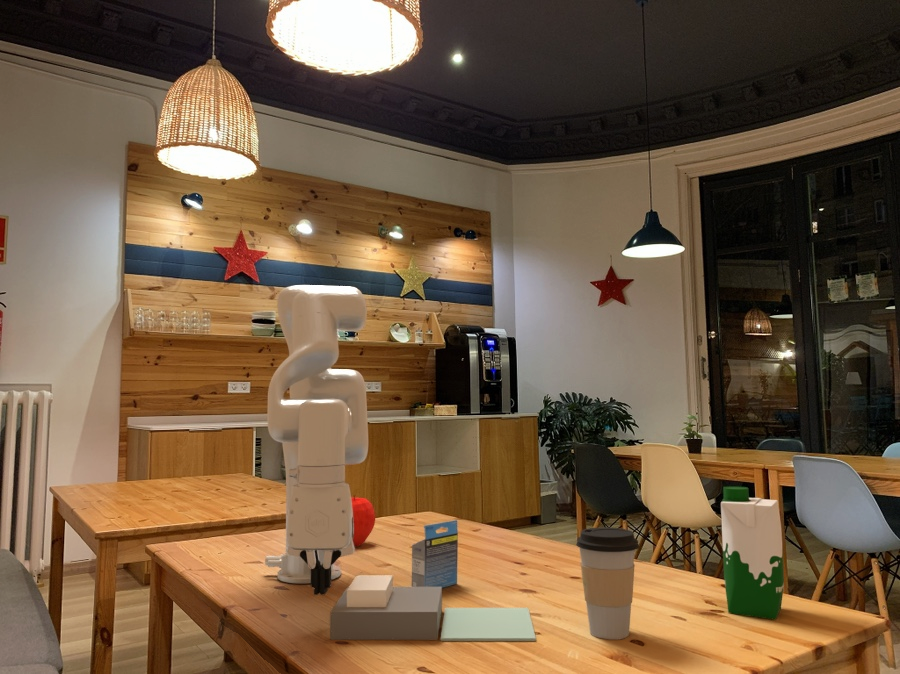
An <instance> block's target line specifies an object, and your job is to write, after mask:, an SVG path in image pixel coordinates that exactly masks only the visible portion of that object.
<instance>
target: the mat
mask: <svg viewBox="0 0 900 674" xmlns="http://www.w3.org/2000/svg"><path fill="white" fill-rule="evenodd" d="M443 613H444V614H443V620H442V625H441V632H440V641H441V642H536V641H537V638H536V634H535V633H536V632H535V629H534V625H533V621H532V618H531V613H530V610H529V607H444V612H443Z"/></svg>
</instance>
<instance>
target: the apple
mask: <svg viewBox="0 0 900 674" xmlns="http://www.w3.org/2000/svg"><path fill="white" fill-rule="evenodd" d="M351 500H352V509H353V522H354V537H353V543H354V548H355V546H357V547H360V546H361V545H363V544H364V543H365V542H366V540H367V539H368V537H369V536H370V534H371V533H372V531H373V530H374V527H375V523H376V514H375V513H376V512H375V509H374V506H373V504H372V503H371V501H370V500H368V499H367V498H365V497H356V496H355V494H354V495H353V496H351Z"/></svg>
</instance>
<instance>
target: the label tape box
mask: <svg viewBox="0 0 900 674" xmlns="http://www.w3.org/2000/svg"><path fill="white" fill-rule="evenodd" d="M441 528H442V529H444V530H445V529H446V530H445V531H442V532H437V530H440V529H441ZM423 529H424V539H422V540H420V541H417V542H416V543H413V544H411V587H442V589H443V588H446V587H451V586H454V585H458V555H459V553H458V552H459V551H458V550H459V549H458V547H459V546H458V545H459V544H458V543H459V541H458V540H459V537H458V536H459V533H458V532H459V531H458V519H455V520H449V521H443V522H438V523H432V524H424V525H423Z"/></svg>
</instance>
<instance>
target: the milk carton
mask: <svg viewBox="0 0 900 674" xmlns="http://www.w3.org/2000/svg"><path fill="white" fill-rule="evenodd" d="M722 491H723V499H721V500H722V501H721V502H720V513H721V514H720V515H721V516H720V517H721V538H722V539H721V540H722V541H721V542H722V559H723V579H724V588H725V596H726V604H727V612H728V614H732V615H733V614H734V615H740V616H747V617H753V618H760V619H768V620H774V621H775V620H776V619H777V617H778V615H779V613H780V611H781V609H782V603H783V597H784V596H783V593H784V587H785V574H784V573H785V572H784V554H783V553H784V552H783V534H782V531H783V530H782V523H781V516H780V508H779V500H777V499H765V498H763V499H762V498H761V497H750V493H749V488H748V487H746V486H738V485H737V486H735V485H734V486H732V485H730V486H723V490H722Z"/></svg>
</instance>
